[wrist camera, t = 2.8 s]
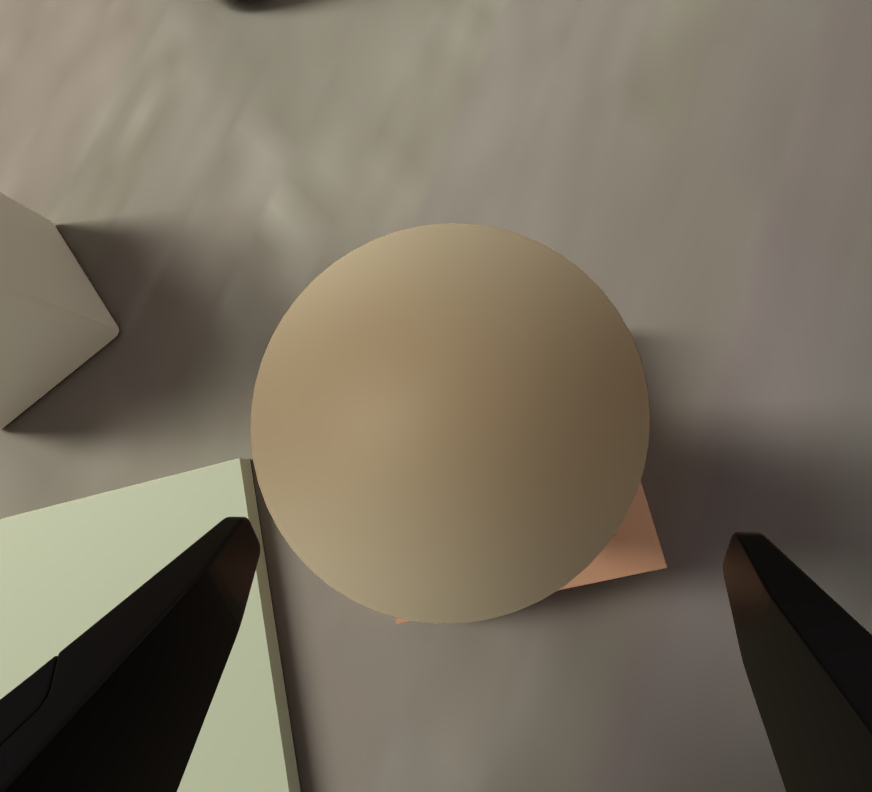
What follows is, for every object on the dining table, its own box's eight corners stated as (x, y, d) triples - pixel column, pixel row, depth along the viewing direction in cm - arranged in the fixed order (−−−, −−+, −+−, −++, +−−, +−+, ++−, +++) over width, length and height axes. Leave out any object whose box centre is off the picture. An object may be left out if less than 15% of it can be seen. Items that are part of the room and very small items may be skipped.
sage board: (305, 824, 19) (296, 839, 18) (-17, 877, 20) (-39, 893, 19) (249, 459, 21) (239, 458, 20) (-31, 530, 23) (-51, 532, 22)
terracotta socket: (648, 557, 18) (666, 567, 16) (413, 606, 19) (396, 623, 17) (580, 329, 20) (588, 306, 17) (367, 385, 21) (347, 371, 18)
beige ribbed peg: (575, 512, 19) (709, 574, 5) (453, 540, 19) (283, 661, 6) (542, 391, 20) (582, 176, 6) (426, 421, 20) (226, 281, 7)
